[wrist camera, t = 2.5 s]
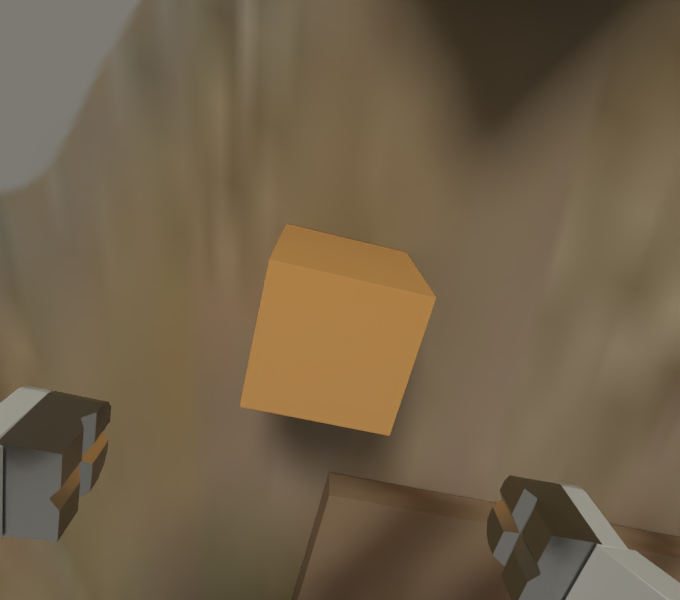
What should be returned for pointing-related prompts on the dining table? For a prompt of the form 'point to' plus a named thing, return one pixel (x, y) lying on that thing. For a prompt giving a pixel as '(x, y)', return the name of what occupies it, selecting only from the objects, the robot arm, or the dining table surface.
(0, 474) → the robot arm
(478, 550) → the peg board
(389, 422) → the tan wooden cube
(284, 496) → the dining table surface
